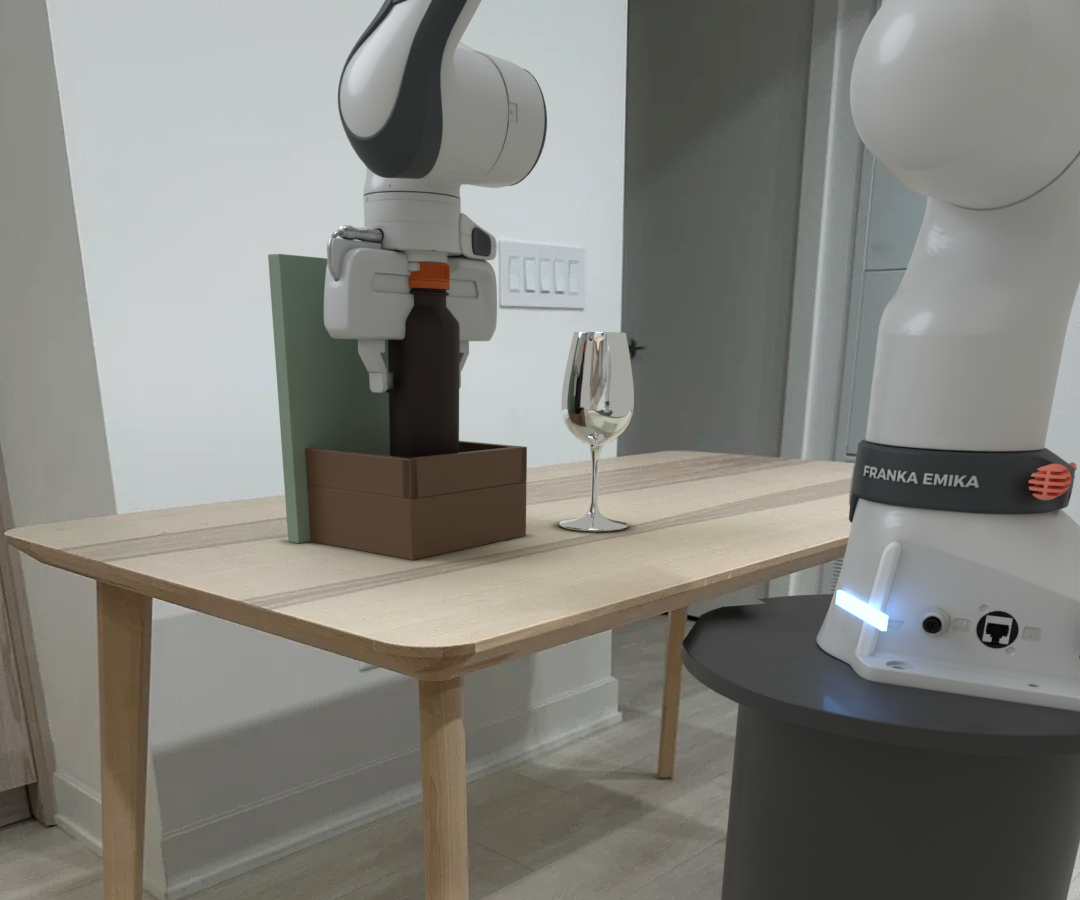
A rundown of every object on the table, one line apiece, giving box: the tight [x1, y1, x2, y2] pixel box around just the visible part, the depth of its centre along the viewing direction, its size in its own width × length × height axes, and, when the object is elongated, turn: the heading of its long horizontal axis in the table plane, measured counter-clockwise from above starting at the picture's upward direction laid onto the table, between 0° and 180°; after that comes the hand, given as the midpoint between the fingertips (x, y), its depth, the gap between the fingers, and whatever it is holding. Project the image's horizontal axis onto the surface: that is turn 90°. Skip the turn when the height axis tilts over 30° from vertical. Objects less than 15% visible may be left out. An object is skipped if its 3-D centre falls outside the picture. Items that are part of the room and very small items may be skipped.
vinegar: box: [388, 262, 460, 458], centre depth 97 cm, size 7×7×20 cm
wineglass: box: [558, 331, 635, 533], centre depth 108 cm, size 8×8×20 cm
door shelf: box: [267, 253, 528, 561], centre depth 99 cm, size 16×20×26 cm
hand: (417, 391), depth 98 cm, fingers open, 8 cm apart
